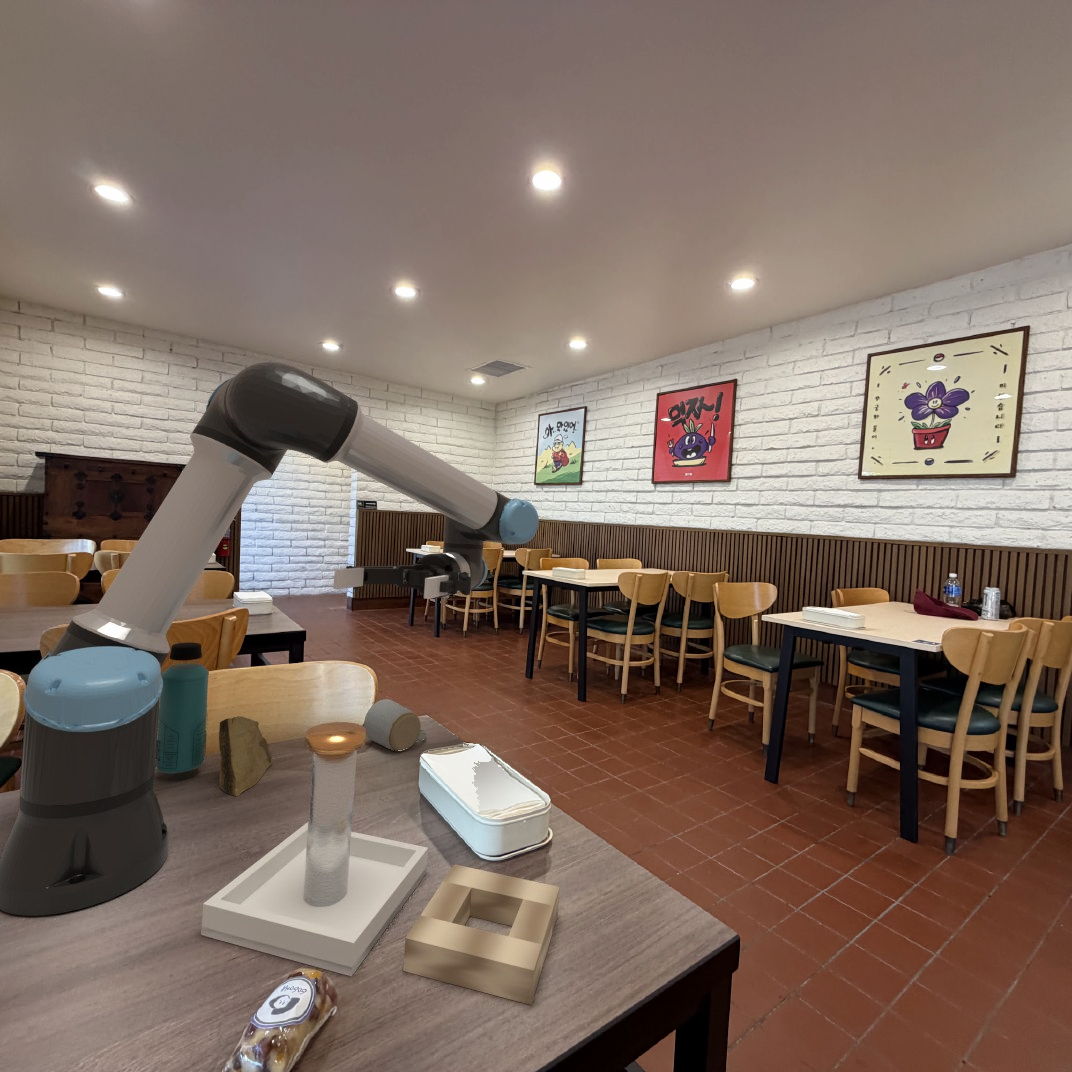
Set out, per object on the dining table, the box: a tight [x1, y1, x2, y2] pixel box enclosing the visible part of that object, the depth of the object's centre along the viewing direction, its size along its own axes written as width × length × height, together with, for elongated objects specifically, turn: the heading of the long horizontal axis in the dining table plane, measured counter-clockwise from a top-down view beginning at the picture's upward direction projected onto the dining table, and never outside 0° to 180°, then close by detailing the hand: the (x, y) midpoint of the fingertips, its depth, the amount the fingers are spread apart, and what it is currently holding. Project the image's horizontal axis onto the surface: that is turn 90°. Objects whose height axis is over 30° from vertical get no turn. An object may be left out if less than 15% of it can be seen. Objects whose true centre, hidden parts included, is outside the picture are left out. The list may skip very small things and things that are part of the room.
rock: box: [218, 715, 274, 798], centre depth 86 cm, size 11×9×10 cm
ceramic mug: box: [363, 698, 427, 752], centre depth 104 cm, size 11×8×8 cm
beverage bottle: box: [155, 641, 210, 774], centre depth 86 cm, size 6×7×20 cm
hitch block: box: [402, 864, 561, 1006], centre depth 56 cm, size 12×12×3 cm
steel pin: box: [303, 721, 367, 907], centre depth 60 cm, size 6×6×17 cm
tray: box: [200, 821, 429, 977], centre depth 60 cm, size 16×16×3 cm
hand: (380, 584), depth 77 cm, fingers open, 13 cm apart
